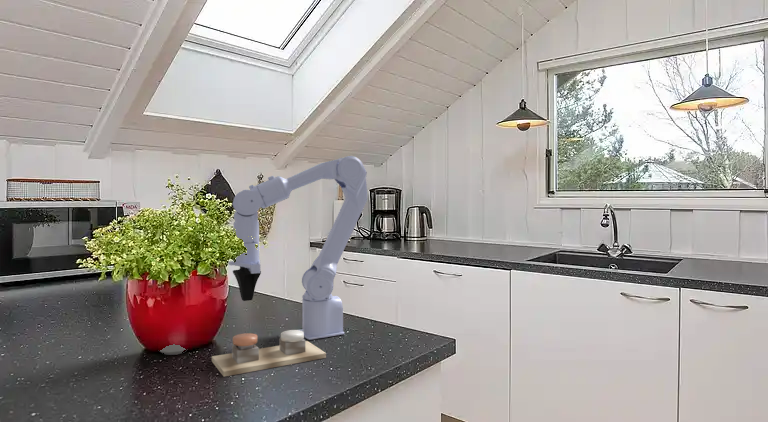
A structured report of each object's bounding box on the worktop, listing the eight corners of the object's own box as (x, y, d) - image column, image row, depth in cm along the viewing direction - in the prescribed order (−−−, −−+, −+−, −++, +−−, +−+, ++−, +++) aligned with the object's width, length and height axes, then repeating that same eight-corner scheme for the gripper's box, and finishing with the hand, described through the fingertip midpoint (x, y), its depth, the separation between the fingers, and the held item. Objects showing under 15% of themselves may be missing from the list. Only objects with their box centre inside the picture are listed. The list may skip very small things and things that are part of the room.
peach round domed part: (253, 350, 106) (253, 332, 105) (260, 356, 101) (260, 337, 101) (230, 353, 103) (230, 335, 103) (236, 360, 99) (236, 341, 99)
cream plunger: (298, 346, 111) (298, 328, 111) (307, 352, 107) (307, 334, 106) (277, 349, 108) (277, 332, 108) (285, 355, 104) (285, 337, 104)
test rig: (307, 345, 115) (307, 329, 114) (326, 357, 106) (325, 341, 106) (211, 361, 104) (211, 344, 104) (223, 376, 95) (223, 358, 95)
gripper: (221, 240, 122) (222, 296, 122) (237, 245, 109) (238, 308, 110) (250, 238, 125) (251, 293, 126) (269, 244, 113) (269, 304, 114)
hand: (247, 300), depth 118 cm, fingers closed
